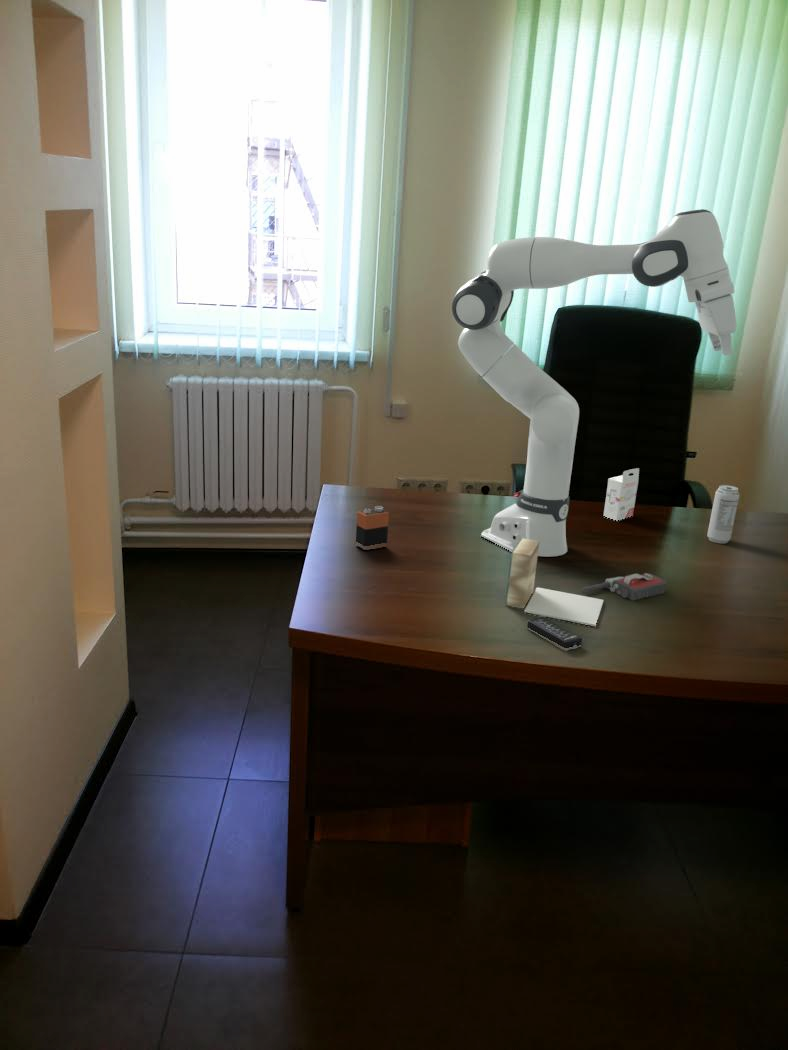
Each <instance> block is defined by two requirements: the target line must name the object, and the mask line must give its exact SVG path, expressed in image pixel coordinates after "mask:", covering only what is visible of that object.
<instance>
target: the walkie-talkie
mask: <svg viewBox="0 0 788 1050" xmlns="http://www.w3.org/2000/svg"><path fill="white" fill-rule="evenodd" d="M601 589H609V590H610V592H613V593H615V594H617V595H619V596H621V597H622V598H623V599H627V598H628V600H629V599H630V601H633V600H634V601H637V599H638V600H641V598H642V599H645V598H644V597H646V598H649V596H650V597H654V596H658V595H661V594H662V595H663V594H665V592H666V589H667V580H665V579H664V578H662V577H659V576H657V575H654V574H653V573H647V572H645V573H642V574H640V573H633V574H627V575H625V576H616V577H610V578H605V581H604V582H602V583H599V584H593V585H589V586H585V587H583V588H582V591H583V592H584V593H587V592H592V591H596V590H601ZM657 594H658V595H657Z"/></svg>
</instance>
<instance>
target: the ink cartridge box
mask: <svg viewBox="0 0 788 1050" xmlns="http://www.w3.org/2000/svg"><path fill="white" fill-rule="evenodd" d="M630 474H633V475H630ZM639 474H640V468H639V467H638V468H637V467H636V468H632V469H628V470H624V471H623V472H622V474H621V475H618V476H613V477H610V478H608V479H607V488H606V495H605V496H606V497H605V501H604V509H603V516H605V517H607V518H606V519H608V518H610V519H609V520H611V519H613V520H612V521H615V520H616V522H619V521H623V520H625V518H626V519H629V518H632V517H634V511H635V510H634V509H635V504H636V499H637V498H636V497H637V491H638V486H639V479H640V478H639V476H640V475H639ZM631 516H632V517H631ZM605 517H604V518H605ZM628 517H629V518H628ZM622 519H623V520H622ZM618 520H619V521H618Z"/></svg>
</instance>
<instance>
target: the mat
mask: <svg viewBox="0 0 788 1050" xmlns="http://www.w3.org/2000/svg"><path fill="white" fill-rule="evenodd" d="M603 604H604V599H601V598H595V597H590V596H586V595H585V596H584V595H581V594H574V593H569V592H564V591H559V590H552V589H549V588H543V587H538V586H537V587H536V588H535V591H533V593H532V595H531V597H530V599H529V601H528V603H527V605H526V606H525V608H524V612H528V613H533V614H538V615H543V616H548V617H553V618H558V619H563V620H568V621H572V622H577V623H581V624H585V625H591V626H595V627H594V628H596V626H597V624H596V623H598V621H599V617H600V613H601V610H602V608H603ZM524 612H523V613H524ZM597 620H598V621H597ZM585 625H584V626H585Z"/></svg>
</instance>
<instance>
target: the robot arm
mask: <svg viewBox="0 0 788 1050" xmlns="http://www.w3.org/2000/svg"><path fill="white" fill-rule="evenodd" d="M486 265H487V266H486V270H485V271H483V272H481V273H479V274H477V275H475V276H473V277H471V278H470V279H469V280H467V282H466V283H465V284H463V285H462V286H460V288H459V289H458V290H457V291H456V293H455V295H454V297H453V299H452V303H451V312H452V316H453V317H454V319H455V321H456V323H457V324H459V325H460V326H461V327H462V328H463V330H462V331H461V332H460V335H459V336H458V337H459V338H458V341H457V345H458V349H459V351H460V352H461V354H462V355H463V356H464V358H465V359H466V361H467V362H468V363H469V365H470V366H471V367H472V368H473V370H474V371H475V372H476V373H477V374H478V375H479V376H480V377H482V379H483V380H484V381H485V382H486V383H487V384H488V385H489V386H490V387H491V388H492V389H493V390H494V391H495V392H496V393H497V394H498V395H499V396H500V397H501V398H502V399H504V401H506V402H507V403H509V404H511V405H512V406H513V407H514V408H516V409H517V410H518V411H519V412H521V413H522V414H523V415H524V416H526V417H527V418H528V419H530V420H529V430H528V431H529V432H528V442H527V458H526V466H525V475H524V483H523V484H524V485H523V489H521V490H518V492H514V493H513V498H517V500H516V501H515V503H513V504H511V505H510V506H508V507H506V508H504V509H503V510H500V511H499V512H497V513H496V514H495V515H494V516H493V519H492V522H491V525H490V527H489V528H487V529H484V530H483V531H482V532H481V535H480V537H481V536H482V537H484V538H486V539H488V540H490V541H492V542H494V543H495V544H494V545H496V544H497V545H496V546H498V545H499V546H498V547H500V546H501V547H500V548H502V547H503V548H502V549H504V548H505V549H504V550H506V549H507V550H506V551H508V550H509V551H508V552H512V551H513V549H514V548H515V546H516V545H517V543H518V542H519V541H520V539H521V538H524V539H529V540H535V541H540V542H539V549H538V557H546V558H547V557H559V556H563V555H565V554H566V553H567V552H568V545H567V537H566V536H567V535H566V534H567V532H566V527H567V526H566V522H567V517H568V513H569V507H570V498H571V497H570V496H569V494H570V492H569V491H570V485H571V476H572V470H573V462H574V455H575V446H576V442H577V441H576V439H577V433H578V426H579V420H580V407H579V403H578V402H577V400H576V399H575V397H573V396H572V395H571V394H570V393H569V392H568V391H567V390H566V389H565V388H564V387H563V386H561V385H560V384H559V383H558V382H557V381H556V380H554V378H552V377H551V376H550V375H549V374H547V372H545V371H544V370H542V369H541V368H540V367H539V366H538V365H537V364H536V363H535V362H534V361H533V360H532V359H531V358H530V357H529V356H528V355H527V354H526V353H525V352H524V351H523V350H522V349H521V348H520V347H519V346H518V345H517V344H515V342H514V341H512V339H510V338H509V336H507V335H506V333H505V332H504V331H503V328H502V326H501V322H503V320H504V319H505V317H506V314H507V312H508V311H509V309H510V307H511V305H512V303H513V299H514V295H515V290H519V289H521V290H522V289H534V290H536V289H537V290H538V289H543V290H545V289H553V288H559V287H564V286H568V285H569V284H573V283H575V282H578V281H580V280H582V279H583V280H584V279H587V278H589V277H593V276H599V275H633V277H634V278H635V279H636V281H638V283H640V284H642V285H643V286H645V287H651V288H652V287H653V288H655V287H658V288H659V287H662V286H665V285H666V284H669V282H671V281H672V282H673V281H674V280H676V279H677V278H679V277H682V278H683V284H684V286H685V291H686V297H687V300H688V302H689V303H695V307H696V310H697V316H698V317H697V318H698V322H699V326H700V328H701V330H703V331H705V332H707V333H708V334H707V335H708V337H709V340H710V342H711V345H712V349H713V351H715V352H717V351H721V354H722V355H723V356H729V355H732V354H733V348H732V336H731V335H732V334H733V333H736V332H737V317H736V311H735V310H736V309H735V303H734V302H735V301H734V297H733V295H732V294H734V293H735V288H734V283H733V281H732V279H731V274H730V270H729V266H728V263H727V262H726V260H725V257H724V242H723V238H722V233H721V230H720V226H719V223H718V219H716V216H715V214H714V213H713V212H711V210H708V209H702V208H701V209H694V210H687V211H682V212H678V213H676V214H675V215H674V216H673V217H672V219H671V220H670V221H669V223H667V225H665V226H664V228H663V229H661V231H659V232H658V233H657V234H656V235H653V237H652V238H649V240H647V241H644V242H642V243H636V244H613V245H612V244H609V245H608V244H607V245H605V244H604V245H600V244H599V245H598V244H590V243H584V242H580V241H575V240H569V239H564V238H558V237H551V236H550V237H549V236H547V237H546V236H538V237H537V236H531V237H530V236H529V237H528V236H527V237H521V238H520V237H519V238H514V239H507V240H503V241H500V242H497V243H495V244H494V245H493V247H492V248H491V249H490V251H489V254H488V255H487V262H486Z"/></svg>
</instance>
